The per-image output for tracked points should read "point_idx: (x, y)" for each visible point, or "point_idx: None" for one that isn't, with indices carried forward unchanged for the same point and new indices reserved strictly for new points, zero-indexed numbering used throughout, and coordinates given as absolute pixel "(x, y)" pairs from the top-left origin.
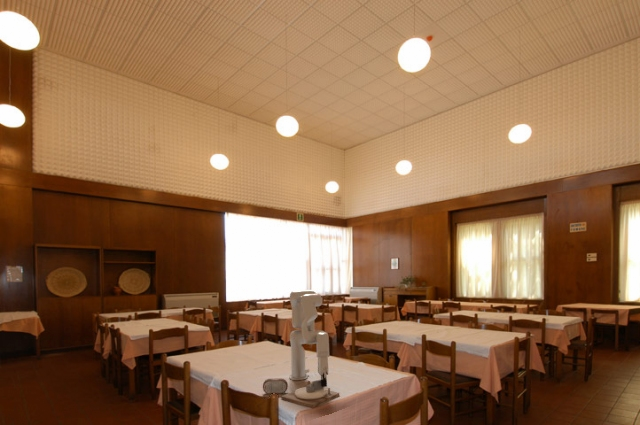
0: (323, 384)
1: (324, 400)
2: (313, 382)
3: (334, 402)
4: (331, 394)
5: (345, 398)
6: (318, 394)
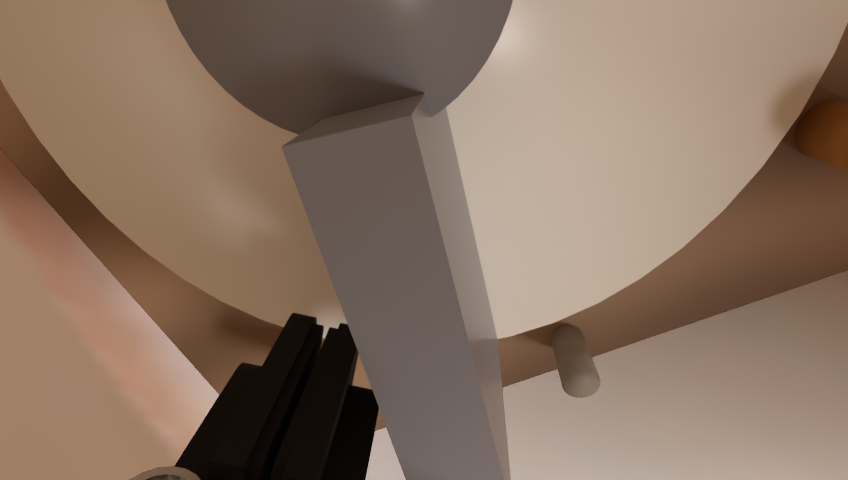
0: (230, 384)
1: (4, 140)
2: (313, 132)
3: (38, 272)
4: (248, 355)
5: (169, 441)
6: (75, 90)
